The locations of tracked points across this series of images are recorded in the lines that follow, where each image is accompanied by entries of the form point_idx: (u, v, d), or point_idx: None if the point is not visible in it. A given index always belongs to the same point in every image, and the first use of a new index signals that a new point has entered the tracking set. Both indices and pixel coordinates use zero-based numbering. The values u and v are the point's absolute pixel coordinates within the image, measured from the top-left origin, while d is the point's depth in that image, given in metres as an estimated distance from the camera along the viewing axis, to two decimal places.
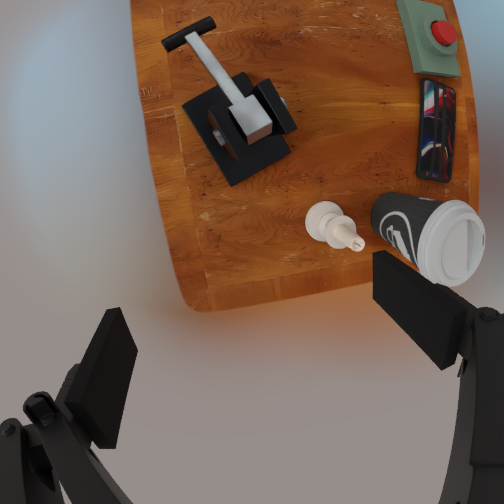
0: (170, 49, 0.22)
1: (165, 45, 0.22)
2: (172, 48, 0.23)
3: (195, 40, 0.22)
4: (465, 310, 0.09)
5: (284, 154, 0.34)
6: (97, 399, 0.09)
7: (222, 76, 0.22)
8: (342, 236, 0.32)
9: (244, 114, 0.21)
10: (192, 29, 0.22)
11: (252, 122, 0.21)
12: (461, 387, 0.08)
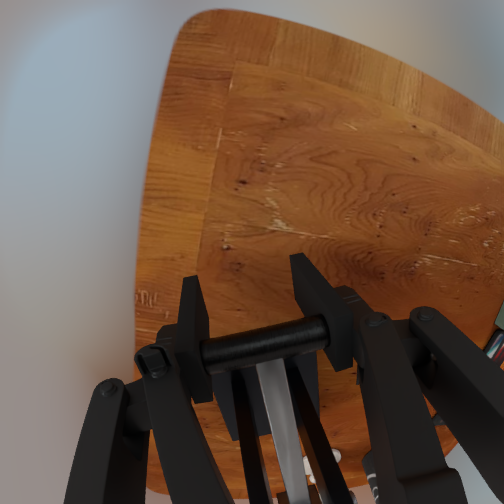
0: None
1: (208, 371, 0.11)
2: None
3: (275, 384, 0.12)
4: (350, 314, 0.11)
5: None
6: None
7: (294, 469, 0.12)
8: None
9: None
10: (278, 350, 0.12)
11: None
12: (364, 396, 0.09)
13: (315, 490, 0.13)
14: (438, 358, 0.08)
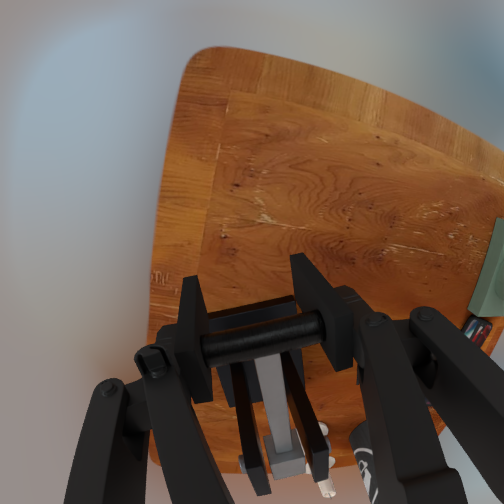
0: None
1: (210, 367, 0.12)
2: None
3: (271, 372, 0.13)
4: (350, 314, 0.11)
5: None
6: (200, 351, 0.11)
7: (281, 428, 0.15)
8: None
9: (282, 470, 0.16)
10: (276, 347, 0.12)
11: (286, 473, 0.16)
12: (364, 396, 0.09)
13: (296, 435, 0.17)
14: (438, 358, 0.08)
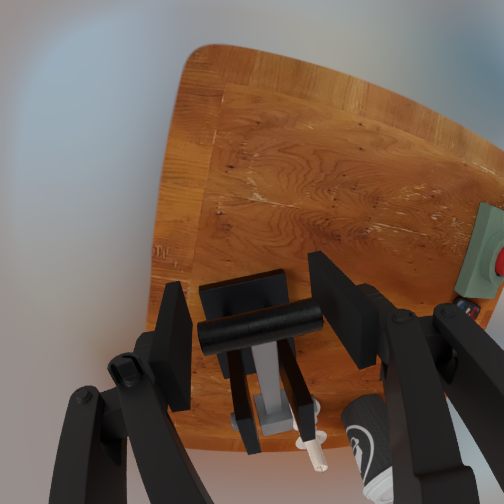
0: None
1: (208, 354, 0.12)
2: None
3: (266, 355, 0.13)
4: (376, 311, 0.10)
5: None
6: (176, 360, 0.11)
7: (273, 395, 0.17)
8: (310, 453, 0.29)
9: (271, 428, 0.19)
10: (273, 336, 0.12)
11: (275, 431, 0.19)
12: (386, 392, 0.09)
13: (285, 395, 0.19)
14: (459, 353, 0.08)
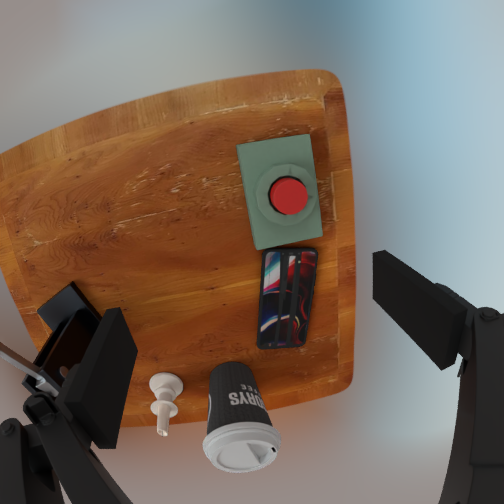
0: None
1: None
2: None
3: None
4: (465, 310, 0.09)
5: None
6: (97, 399, 0.09)
7: (18, 365, 0.23)
8: (157, 420, 0.36)
9: (47, 389, 0.26)
10: None
11: (53, 392, 0.26)
12: (461, 387, 0.08)
13: None
14: None
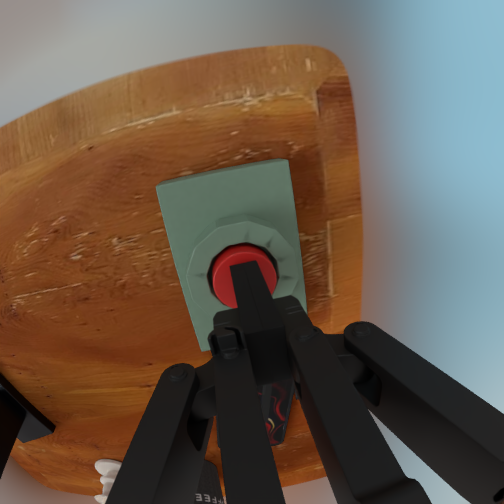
0: None
1: None
2: None
3: None
4: (280, 326, 0.11)
5: (48, 433, 0.24)
6: None
7: None
8: None
9: None
10: None
11: None
12: (305, 412, 0.09)
13: None
14: (381, 376, 0.08)
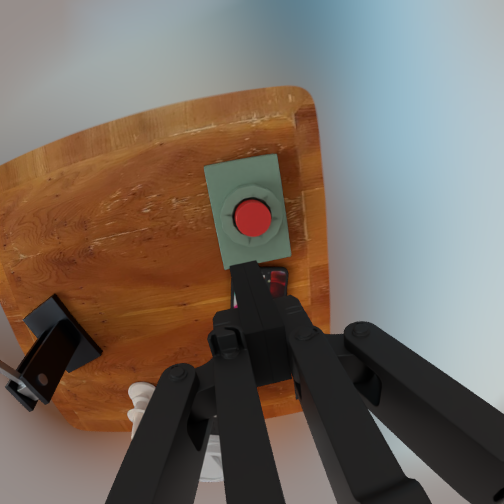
0: None
1: None
2: None
3: None
4: (281, 326, 0.11)
5: (96, 356, 0.39)
6: None
7: (1, 370, 0.24)
8: None
9: (27, 394, 0.26)
10: None
11: (33, 396, 0.27)
12: (305, 412, 0.09)
13: None
14: (381, 376, 0.08)
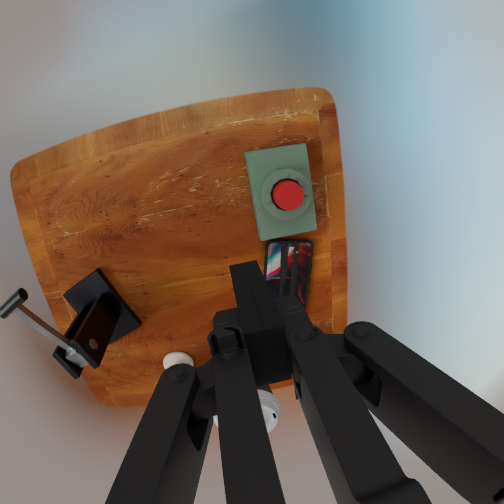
0: (8, 315, 0.27)
1: (4, 318, 0.26)
2: None
3: (21, 315, 0.27)
4: (281, 326, 0.11)
5: (136, 327, 0.45)
6: None
7: (52, 337, 0.30)
8: None
9: (75, 360, 0.32)
10: (14, 306, 0.26)
11: (81, 363, 0.33)
12: (305, 412, 0.09)
13: None
14: (381, 376, 0.08)
